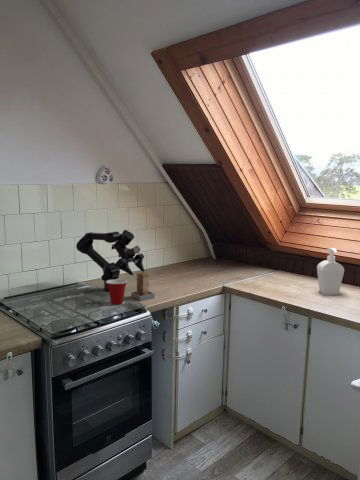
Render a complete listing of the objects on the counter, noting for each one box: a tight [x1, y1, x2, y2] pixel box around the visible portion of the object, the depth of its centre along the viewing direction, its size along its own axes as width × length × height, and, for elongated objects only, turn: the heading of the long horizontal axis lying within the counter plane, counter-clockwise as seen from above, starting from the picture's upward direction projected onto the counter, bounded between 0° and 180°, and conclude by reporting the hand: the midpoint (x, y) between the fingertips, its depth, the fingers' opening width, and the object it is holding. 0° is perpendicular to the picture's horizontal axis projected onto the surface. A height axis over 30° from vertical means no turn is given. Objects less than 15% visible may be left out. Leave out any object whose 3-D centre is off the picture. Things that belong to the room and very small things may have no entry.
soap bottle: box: [316, 247, 345, 296], centre depth 234 cm, size 12×10×26 cm
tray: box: [130, 290, 156, 302], centre depth 226 cm, size 9×9×2 cm
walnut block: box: [136, 271, 150, 296], centre depth 225 cm, size 4×4×13 cm
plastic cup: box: [106, 278, 128, 306], centre depth 216 cm, size 11×11×12 cm
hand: (138, 273), depth 226 cm, fingers open, 9 cm apart
